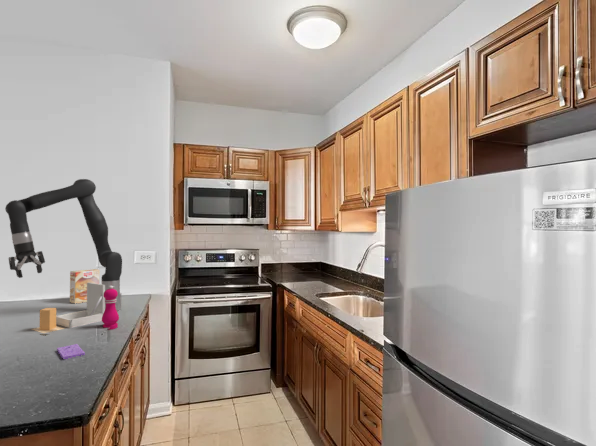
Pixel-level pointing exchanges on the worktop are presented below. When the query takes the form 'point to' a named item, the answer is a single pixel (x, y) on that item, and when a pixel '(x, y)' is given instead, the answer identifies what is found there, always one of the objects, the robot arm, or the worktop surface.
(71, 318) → the equipment case
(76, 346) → the sponges
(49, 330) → the board
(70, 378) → the worktop surface
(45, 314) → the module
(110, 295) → the pepper mill
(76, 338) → the worktop surface
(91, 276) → the coffeecake box
